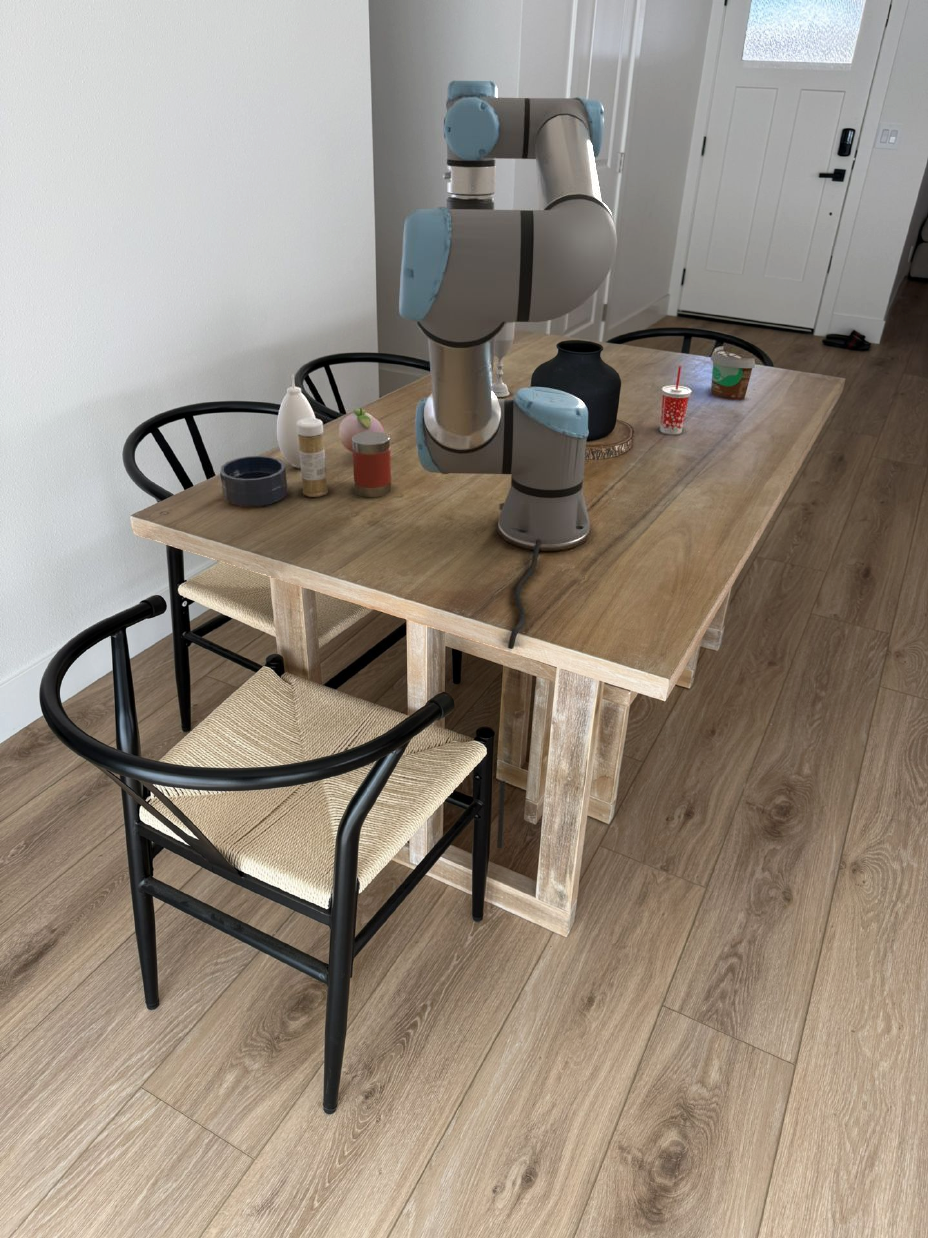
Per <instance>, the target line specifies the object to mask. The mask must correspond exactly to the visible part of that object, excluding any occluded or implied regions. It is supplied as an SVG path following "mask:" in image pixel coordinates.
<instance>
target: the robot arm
mask: <svg viewBox="0 0 928 1238" xmlns="http://www.w3.org/2000/svg"><path fill="white" fill-rule="evenodd" d="M446 88H447V90H446V100H445V107H446V113H445V116H444V119H443V138H444V139H445V143H446V165H447V166H446V170H447V171H445V172H443V174H442V178H443V179H444V180H446V193H448V194H449V195H450V196H448V197H447V199H446V206H438V207H436V208H421V209H419V208H418V209H414V210H412V211H411V212H409V214H408V215H407V216H406V218H405V220H404V226H403V235H402V246H401V247H402V249H401V250H402V254H401V264H400V279H399V296H398V297H399V299H398V310H399V311H398V313H399V316H400V317H401V318H402V319H403V320H407V321H410V322H412V323H415V324H416V325H417V328H418V329H419V330H420V332H421V333H422V334H423V335H424V336H425V337H426V338H427V344H428V356H429V369H430V381H431V382H430V383H431V393H430V394H429V396H428V397H423V398H421V399H420V400H419V401H418V403H417V405H416V408H415V418H414V419H415V422H414V424H415V425H414V431H415V433H414V434H415V442H416V451H417V456H418V457H417V458H418V460H419V462H420V465H421V467H422V468H423V469H424V470H425V471H427V472H429V473H437V474H441V475H449V474H470V475H471V474H473V475H475V474H476V475H477V474H478V475H511V478H510V479H511V480H510V487H509V490H508V493H507V496H506V498H505V500H504V502H502V503H499V504H498V505H499V507H498V508H499V509H498V510H499V511H500V513H499V516H498V521H497V531H498V534H499V535H500V537H501V538H502V539H503V540H505V541H506V542H507V543H509V544H512V545H514V546H516V547H518V548H522V549H526V550H530V551H533V553H532V558H531V563H530V566H529V568H528V570H527V571H526V573H525V574H524V575H523V576H522V577H521V578H520V580H519V581H518V582H517V584H516V586H515V588H514V601H515V605H516V607H517V610H518V614H519V618H518V619H519V620H518V622H517V624H516V625H515V626H514V628H513V629H512V630H511V633H510V636H509V639H508V645H507V648H508V650H513V649H514V647H515V644H516V639H517V636H518V633H519V632H520V630H521V629H522V628H523V627H524V625H525V621H526V612H525V607H524V606H523V603H522V600H521V596H520V595H521V590H522V587H523V586H524V584H525V583H526V582H527V580H528V579H529V578H531V576H532V575H533V573H534V572H535V569H536V568H537V567H536V566H537V563H538V557H539V553H540V552H559V551H567V550H570V549H573V548H576V547H578V546H580V545H582V544H584V543H585V542H586V541H587V540H588V539H589V536H590V529H591V524H590V523H591V522H590V516H589V513H588V507H587V505H586V501H585V495H584V493H583V485H584V484H583V483H584V474H585V462H586V461H585V460H586V450H587V440H588V437H589V433H590V432H589V410H588V407H587V405H586V404H585V402H583V400H581V399H580V398H578V397H577V396H575V395H573V394H571V393H569V392H566V391H563V390H560V389H555V388H550V387H543V386H529V387H522V388H519V389H517V391H516V392H515V394H514V395H513V399H505V398H498V397H496V396H495V395H494V393H493V392H492V384H493V383H494V382H493V381H494V380H493V379H494V361H495V355H494V343H495V337H496V335H497V334H498V333H499V332H500V331H501V330H502V328H503V327H504V325H505V323H506V322H515V323H543V322H548V321H552V320H556V319H558V318H561V317H563V316H565V315H569V314H570V313H571V312H573V311H575V310H576V309H578V308H579V307H581V306H582V305H583V304H584V303H586V301H588V299H590V298H591V297H592V296H593V295H594V294H595V293H596V292H597V291H598V289H599V288H600V287H601V286H602V284H603V282H604V281H605V280H606V278H607V276H608V275H609V273H610V272H611V268H612V266H613V264H614V261H615V259H616V253H617V248H618V247H617V246H618V236H617V229H616V225H615V224H616V223H615V219H614V217H613V214H612V212H611V210H610V209H609V207H608V206H607V205H606V204H605V203H604V201H602V197H601V191H600V186H599V179H598V174H597V169H596V163H595V159H597V158H598V157H599V156H600V153H601V150H602V146H603V138H604V137H603V136H604V125H605V124H604V123H605V117H604V106H603V104H602V103H601V102H600V100H597V99H589V98H581V97H578V96H577V97H568V98H567V97H566V98H565V97H560V98H559V97H499V96H498V87H497V84H496V83H495V82H494V81H492V80H451V81H450V82H449V83H448V85H447V87H446ZM496 159H500V160H501V159H508V160H510V159H511V160H512V159H514V160H518V159H519V160H535V165H536V179H537V193H538V204H539V205H538V206H539V209H532V210H531V209H530V210H528V209H527V210H525V209H495V199H494V198H493V197H492V195H494V194H495V193H496V177H497V175H496V174H497V173H496V172H497V165H496ZM498 791H499V792H498V797H499V798H498V814H497V839H496V848H497V849H502V848H503V838H504V837H503V835H504V834H503V833H504V818H505V817H504V814H505V813H504V812H505V793H506V780H499V790H498Z"/></svg>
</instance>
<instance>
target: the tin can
mask: <svg viewBox="0 0 928 1238" xmlns="http://www.w3.org/2000/svg"><path fill="white" fill-rule="evenodd" d="M352 446H353V447H352V452H351V453H352V467H353V470H352V471H353V483H354V492H355V493H356V494H357V495H359V496H361V497H364V498H379V497H383V496H387V495H388V494H390V493H391V491H392V466H391V465H392V464H391V463H392V462H391V446H390V436H389V434H387V433H385V432H384V433H381V432H373V431H371V432H362V433H358V434H356V435H354V436H353V437H352Z"/></svg>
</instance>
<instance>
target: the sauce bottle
mask: <svg viewBox="0 0 928 1238" xmlns="http://www.w3.org/2000/svg"><path fill="white" fill-rule="evenodd" d="M306 418H315V419H317V417H316V415H315V413H314V410H313V407H312V406H311V404H310V402H309V400H308V399H307V397H306V396H305V394H303V393H302V388H301V387H299V386H296V384H295V377H294V374H293V373H292V374H291V386H290V387H288V388H286V394H285V395H284V397H283V399H282V401H281V403H280V407H279V410H278V415H277V419H276V439H277V445H278V449H279V450H280V453H281V456H282V457H283V458H284V461H286V462H287V463H288V464H290V465H291V466H292V467H294V468H297V469H301V465H300V454H299V438H298V433H297V427H296V423H297V422H298V421H299V420H301V419H306Z"/></svg>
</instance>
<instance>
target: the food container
mask: <svg viewBox="0 0 928 1238" xmlns="http://www.w3.org/2000/svg"><path fill="white" fill-rule="evenodd" d="M755 360H756V358H755V357H752V358H745V357H744V356H742V355H740V354H738V353H733V352H729V351H726V350H724V345H723V346H717V347H715V348H714V350H713V352H712V354H711V356H710V361H711V362H712V371H711V372H712V373H711V385H710V386H711V387H710V394H711V395H712V396H714V397H716V398H719V399H722V400H730V401H743V400H745V398H746V395H747V391H748V388H749V383H750V379H751V376H752V372H753V369H755V368H756V361H755Z"/></svg>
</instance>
